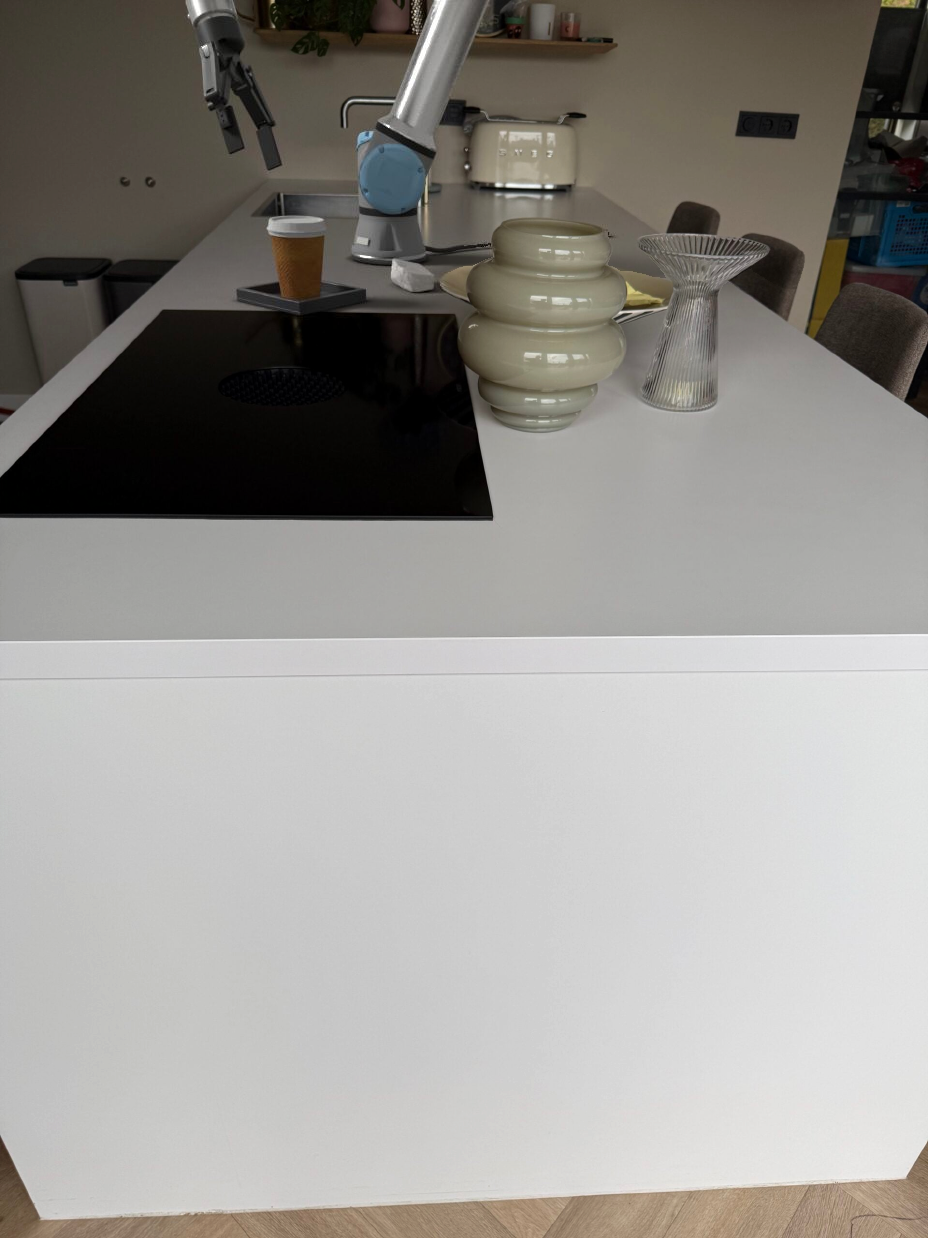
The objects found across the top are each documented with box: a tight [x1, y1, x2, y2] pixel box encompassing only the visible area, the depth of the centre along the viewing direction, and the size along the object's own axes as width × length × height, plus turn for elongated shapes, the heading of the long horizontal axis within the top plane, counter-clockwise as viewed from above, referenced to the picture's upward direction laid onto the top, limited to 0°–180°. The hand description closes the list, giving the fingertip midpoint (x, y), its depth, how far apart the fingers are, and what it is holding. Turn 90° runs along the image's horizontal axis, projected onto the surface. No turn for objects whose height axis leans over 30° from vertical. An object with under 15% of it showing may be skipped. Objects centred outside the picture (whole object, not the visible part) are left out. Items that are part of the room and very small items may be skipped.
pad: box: [235, 279, 367, 317], centre depth 151 cm, size 15×15×2 cm
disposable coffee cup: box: [266, 215, 328, 301], centre depth 148 cm, size 10×10×12 cm
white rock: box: [390, 259, 435, 293], centre depth 163 cm, size 10×6×6 cm, turn 13°
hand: (256, 159), depth 154 cm, fingers open, 13 cm apart
